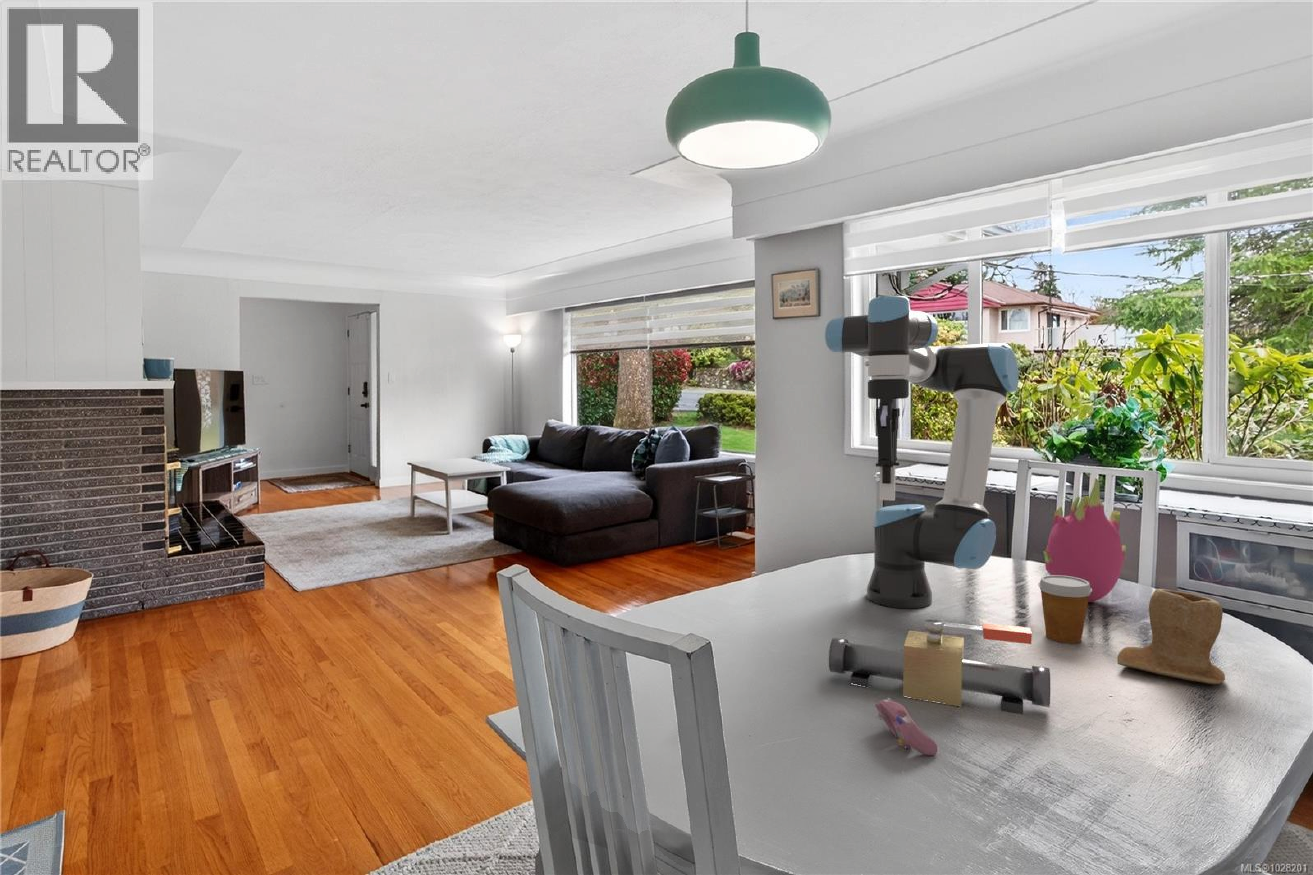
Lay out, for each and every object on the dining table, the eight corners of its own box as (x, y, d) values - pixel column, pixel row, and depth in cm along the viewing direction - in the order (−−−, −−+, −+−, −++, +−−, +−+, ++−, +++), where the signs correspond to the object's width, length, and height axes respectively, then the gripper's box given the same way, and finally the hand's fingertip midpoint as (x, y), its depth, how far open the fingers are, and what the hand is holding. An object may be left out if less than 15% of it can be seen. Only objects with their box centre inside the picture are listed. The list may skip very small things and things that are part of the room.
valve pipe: (836, 668, 131) (837, 611, 130) (1046, 701, 116) (1048, 637, 115) (827, 684, 124) (827, 625, 123) (1050, 722, 109) (1051, 654, 108)
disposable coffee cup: (1098, 647, 139) (1100, 588, 138) (1046, 645, 140) (1047, 586, 140) (1079, 631, 148) (1081, 575, 147) (1030, 628, 150) (1032, 573, 149)
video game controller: (884, 735, 109) (865, 697, 108) (909, 720, 109) (890, 683, 108) (915, 770, 99) (894, 729, 98) (942, 753, 99) (922, 712, 98)
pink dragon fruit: (1109, 594, 173) (1113, 473, 170) (1137, 611, 159) (1141, 481, 157) (1032, 591, 176) (1034, 473, 174) (1052, 608, 162) (1056, 480, 160)
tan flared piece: (1226, 672, 126) (1229, 591, 125) (1223, 695, 117) (1226, 607, 116) (1126, 652, 136) (1128, 577, 135) (1115, 672, 127) (1118, 591, 126)
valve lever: (924, 633, 118) (924, 622, 118) (924, 627, 121) (924, 616, 121) (1031, 644, 112) (1031, 633, 112) (1029, 638, 115) (1029, 627, 115)
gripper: (873, 378, 142) (872, 493, 144) (862, 378, 130) (861, 503, 132) (912, 377, 139) (911, 495, 140) (904, 377, 127) (903, 506, 129)
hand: (887, 499), depth 136 cm, fingers closed
